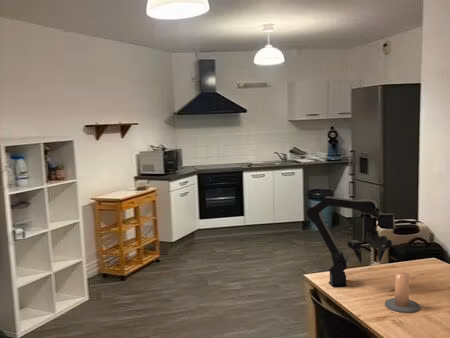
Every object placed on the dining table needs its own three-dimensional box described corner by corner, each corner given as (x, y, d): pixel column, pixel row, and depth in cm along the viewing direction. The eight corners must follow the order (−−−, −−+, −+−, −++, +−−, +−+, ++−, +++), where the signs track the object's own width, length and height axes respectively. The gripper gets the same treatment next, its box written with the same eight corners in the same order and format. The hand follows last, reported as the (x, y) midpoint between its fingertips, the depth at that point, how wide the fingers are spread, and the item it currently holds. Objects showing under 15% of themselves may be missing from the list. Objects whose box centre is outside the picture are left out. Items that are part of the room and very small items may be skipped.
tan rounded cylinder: (395, 306, 179) (396, 276, 177) (394, 301, 184) (394, 271, 182) (409, 307, 177) (410, 276, 176) (407, 302, 182) (407, 272, 181)
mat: (395, 314, 173) (395, 312, 173) (379, 301, 186) (379, 299, 186) (426, 311, 175) (426, 309, 175) (407, 298, 188) (407, 296, 188)
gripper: (358, 233, 189) (358, 269, 191) (399, 230, 192) (399, 265, 193) (347, 227, 200) (347, 261, 202) (385, 225, 203) (385, 258, 204)
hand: (369, 262), depth 200 cm, fingers open, 9 cm apart
